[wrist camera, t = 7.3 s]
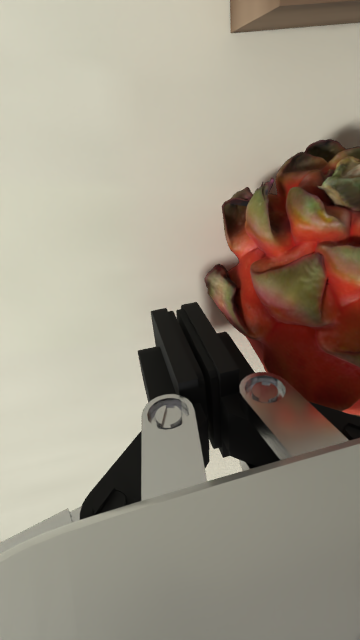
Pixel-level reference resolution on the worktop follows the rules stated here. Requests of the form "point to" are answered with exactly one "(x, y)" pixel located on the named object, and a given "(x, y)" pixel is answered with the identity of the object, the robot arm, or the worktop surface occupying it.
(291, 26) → the bay
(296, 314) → the dragon fruit
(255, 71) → the worktop surface
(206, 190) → the worktop surface
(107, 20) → the worktop surface
